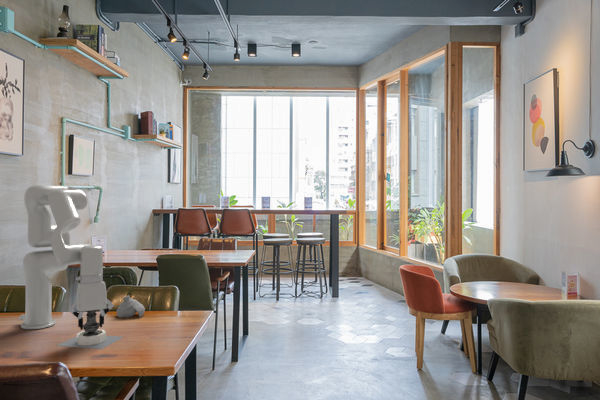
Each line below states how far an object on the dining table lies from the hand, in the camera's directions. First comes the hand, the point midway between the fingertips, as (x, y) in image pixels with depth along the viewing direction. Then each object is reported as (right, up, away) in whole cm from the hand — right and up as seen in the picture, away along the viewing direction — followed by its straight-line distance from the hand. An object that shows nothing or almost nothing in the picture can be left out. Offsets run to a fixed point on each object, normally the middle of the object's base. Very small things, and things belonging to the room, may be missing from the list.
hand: (91, 327), depth 164 cm
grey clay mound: (-1, -7, +41) cm, 41 cm away
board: (0, -6, 0) cm, 6 cm away
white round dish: (0, -5, 0) cm, 5 cm away
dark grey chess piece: (0, -3, 0) cm, 3 cm away
